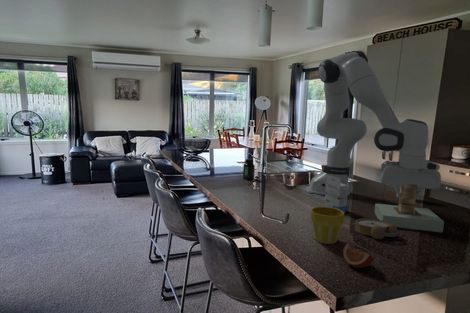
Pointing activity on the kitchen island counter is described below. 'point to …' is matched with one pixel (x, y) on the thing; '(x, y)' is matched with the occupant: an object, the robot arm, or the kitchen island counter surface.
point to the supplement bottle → (248, 170)
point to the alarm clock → (375, 228)
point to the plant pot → (326, 223)
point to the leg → (407, 198)
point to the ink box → (336, 194)
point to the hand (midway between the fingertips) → (407, 198)
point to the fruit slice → (356, 256)
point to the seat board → (409, 218)
